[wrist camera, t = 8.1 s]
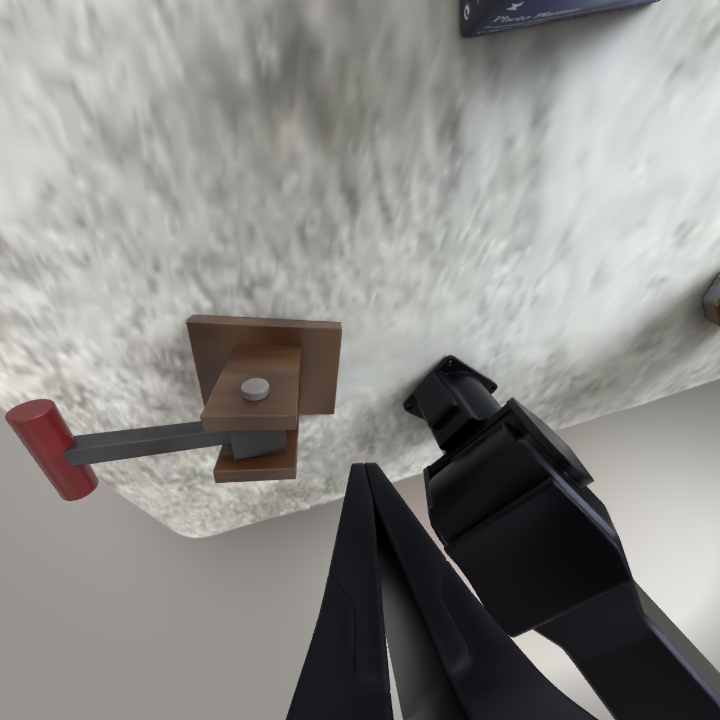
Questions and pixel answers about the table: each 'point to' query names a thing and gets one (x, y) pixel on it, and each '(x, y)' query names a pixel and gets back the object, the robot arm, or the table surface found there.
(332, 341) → the bracket
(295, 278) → the table surface
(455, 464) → the robot arm
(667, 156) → the table surface
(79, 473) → the crank
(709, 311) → the ceramic cup
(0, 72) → the table surface
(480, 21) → the small box
